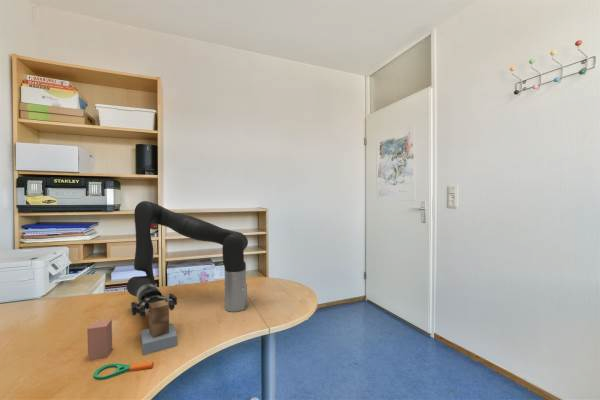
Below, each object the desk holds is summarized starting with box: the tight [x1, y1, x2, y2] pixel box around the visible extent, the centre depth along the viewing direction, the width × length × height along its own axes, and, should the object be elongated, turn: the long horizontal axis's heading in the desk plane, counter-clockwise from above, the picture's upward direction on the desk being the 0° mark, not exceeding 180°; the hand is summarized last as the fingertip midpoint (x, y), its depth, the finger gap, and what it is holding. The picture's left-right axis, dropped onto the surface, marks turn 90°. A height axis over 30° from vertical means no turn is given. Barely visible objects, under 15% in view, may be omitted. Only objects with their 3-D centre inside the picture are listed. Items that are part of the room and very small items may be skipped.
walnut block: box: [148, 300, 170, 338], centre depth 95 cm, size 5×5×10 cm
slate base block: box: [140, 322, 178, 356], centre depth 95 cm, size 10×10×4 cm
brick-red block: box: [86, 318, 113, 362], centre depth 88 cm, size 5×5×10 cm
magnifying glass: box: [92, 361, 154, 381], centre depth 81 cm, size 15×6×2 cm, turn 103°
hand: (158, 310), depth 94 cm, fingers open, 8 cm apart
